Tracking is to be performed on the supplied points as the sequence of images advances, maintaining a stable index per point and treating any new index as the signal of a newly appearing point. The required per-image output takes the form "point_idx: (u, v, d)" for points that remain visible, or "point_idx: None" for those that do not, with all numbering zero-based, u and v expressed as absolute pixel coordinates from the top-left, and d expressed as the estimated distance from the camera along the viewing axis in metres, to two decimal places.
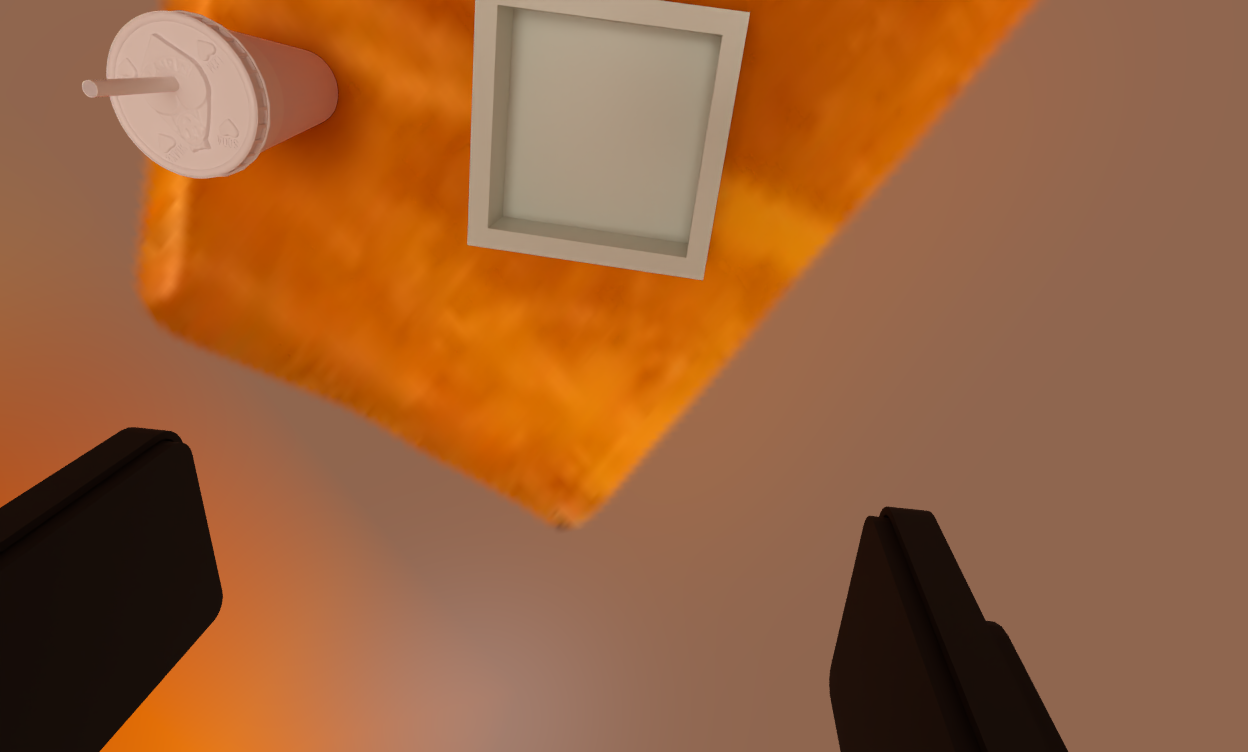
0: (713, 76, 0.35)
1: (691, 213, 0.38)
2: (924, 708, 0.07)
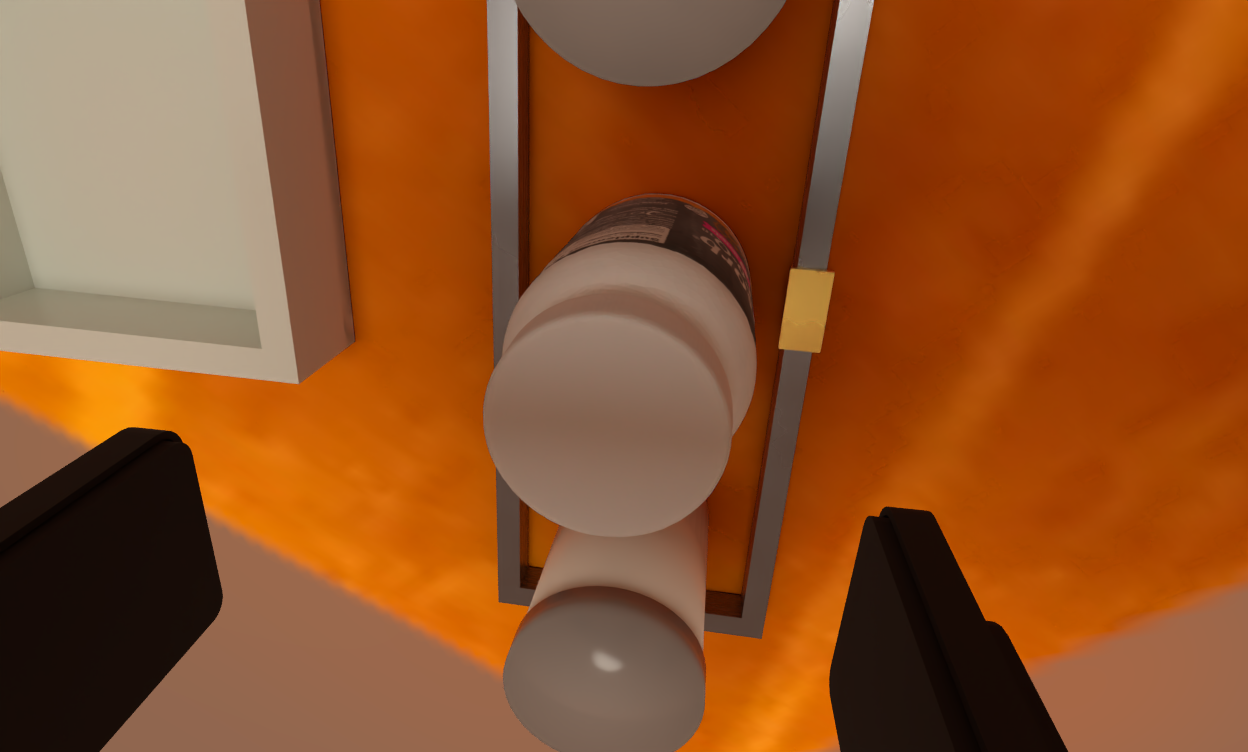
0: None
1: (77, 290, 0.24)
2: (924, 708, 0.07)
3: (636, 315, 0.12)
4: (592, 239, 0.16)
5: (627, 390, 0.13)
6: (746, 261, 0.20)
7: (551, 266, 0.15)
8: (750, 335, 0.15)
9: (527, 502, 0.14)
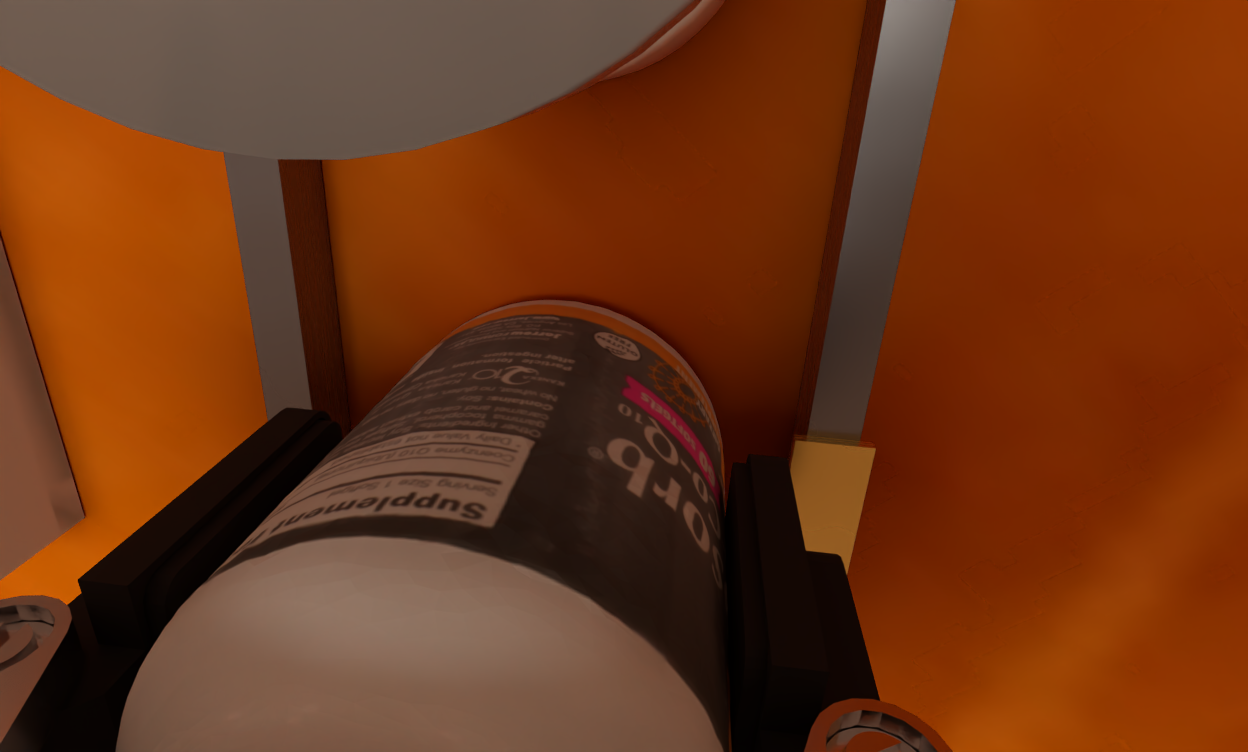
0: None
1: None
2: (738, 613, 0.08)
3: None
4: (340, 486, 0.07)
5: None
6: (714, 422, 0.11)
7: (210, 584, 0.06)
8: None
9: None
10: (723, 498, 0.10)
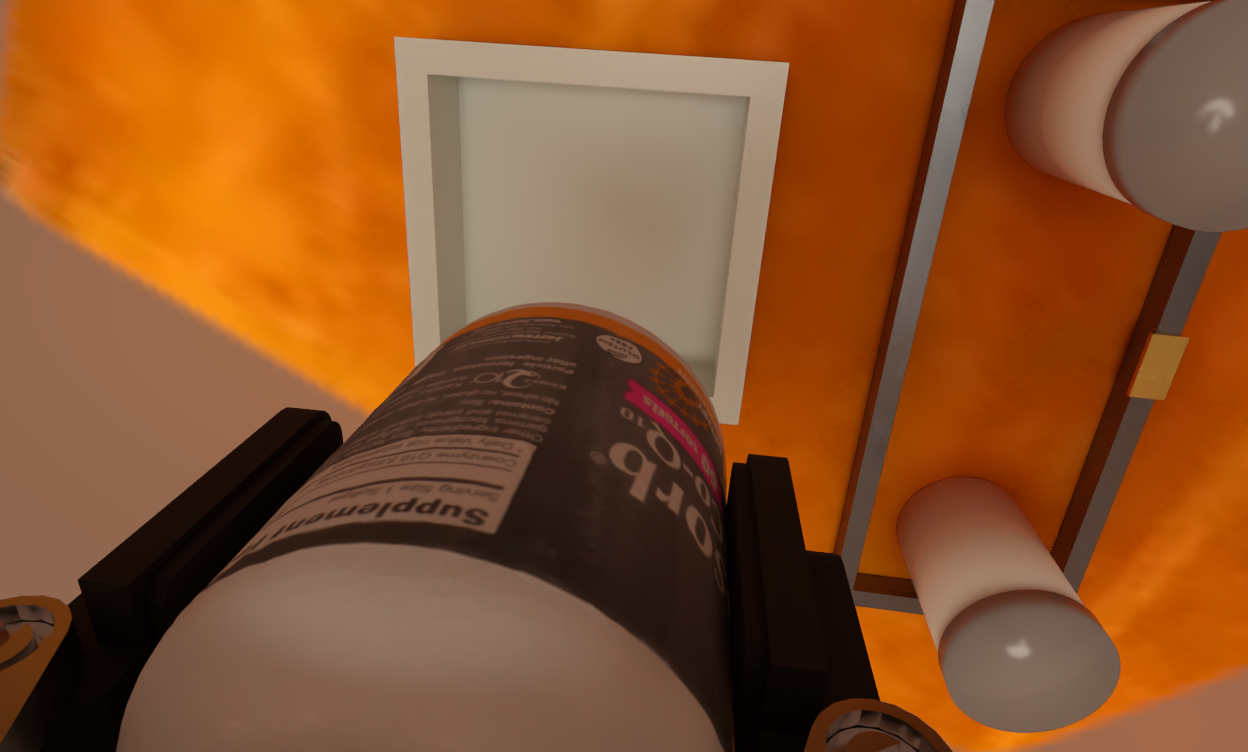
0: None
1: None
2: (739, 612, 0.08)
3: None
4: (341, 491, 0.07)
5: None
6: (716, 425, 0.11)
7: (210, 591, 0.06)
8: None
9: None
10: (725, 501, 0.10)
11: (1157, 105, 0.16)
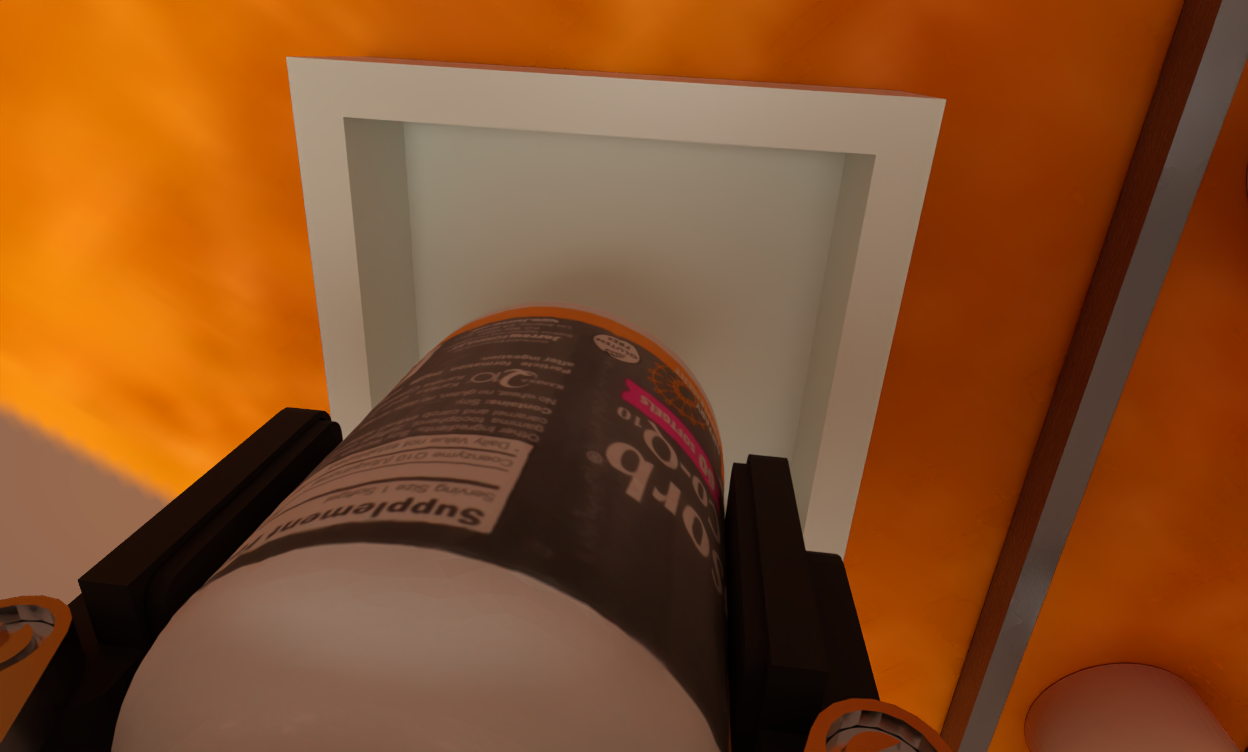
0: None
1: None
2: (739, 613, 0.08)
3: None
4: (337, 491, 0.07)
5: None
6: (714, 425, 0.11)
7: (205, 591, 0.06)
8: None
9: None
10: (723, 501, 0.10)
11: None
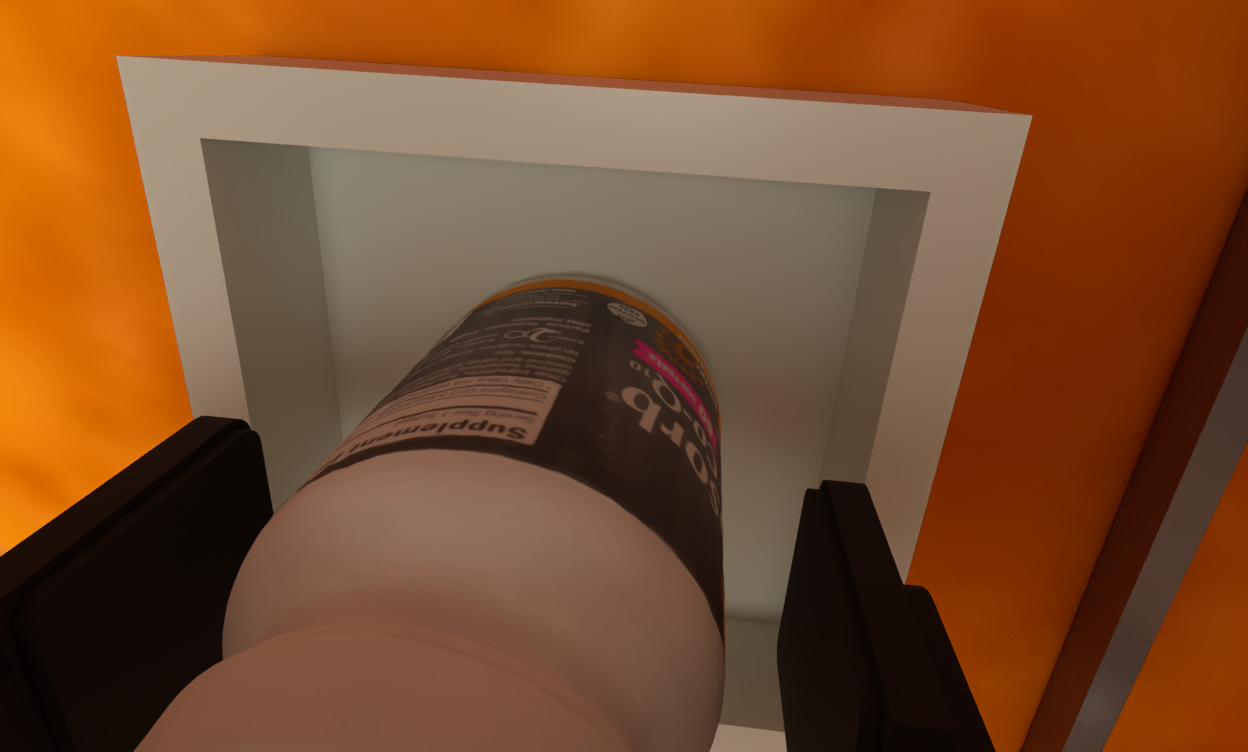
0: None
1: None
2: (838, 658, 0.07)
3: None
4: (403, 418, 0.08)
5: None
6: (712, 385, 0.13)
7: (303, 491, 0.07)
8: (711, 631, 0.07)
9: None
10: (719, 449, 0.12)
11: None
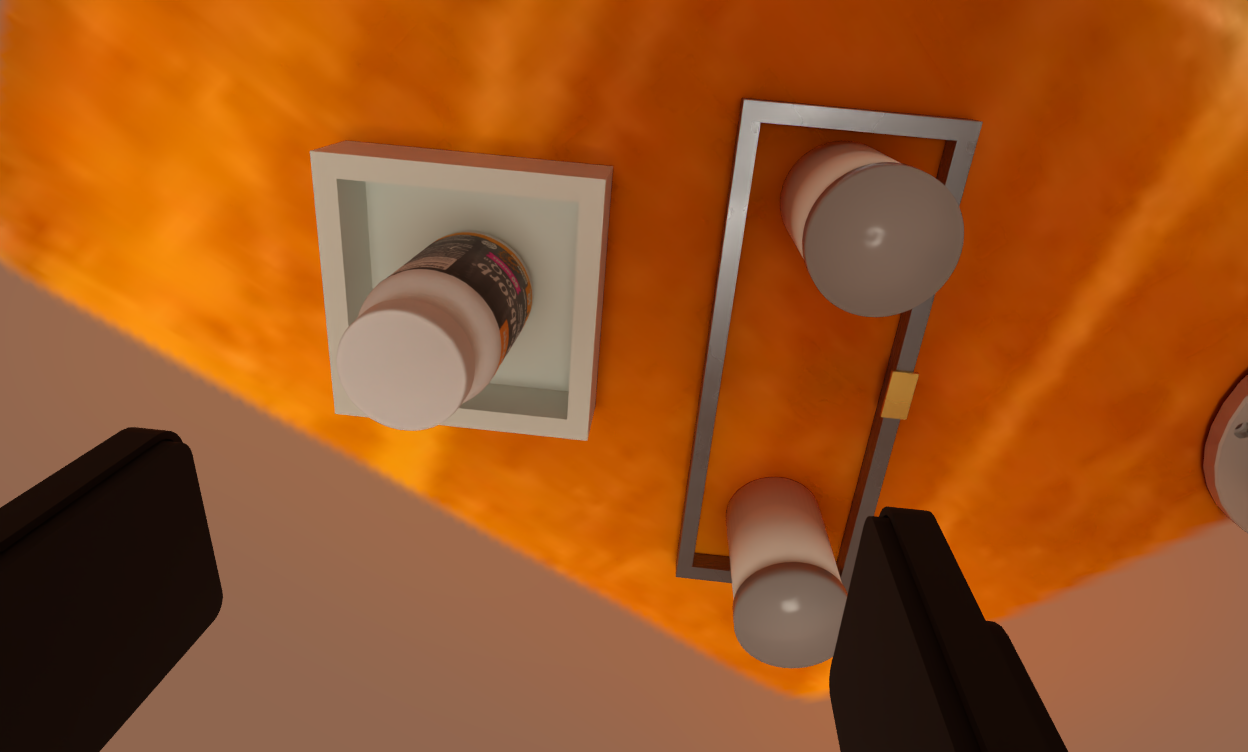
0: (540, 387, 0.36)
1: None
2: (924, 708, 0.07)
3: (412, 310, 0.24)
4: (408, 265, 0.28)
5: (410, 349, 0.25)
6: (526, 275, 0.33)
7: (382, 281, 0.27)
8: (494, 322, 0.27)
9: (363, 411, 0.26)
10: (524, 296, 0.32)
11: (825, 236, 0.25)
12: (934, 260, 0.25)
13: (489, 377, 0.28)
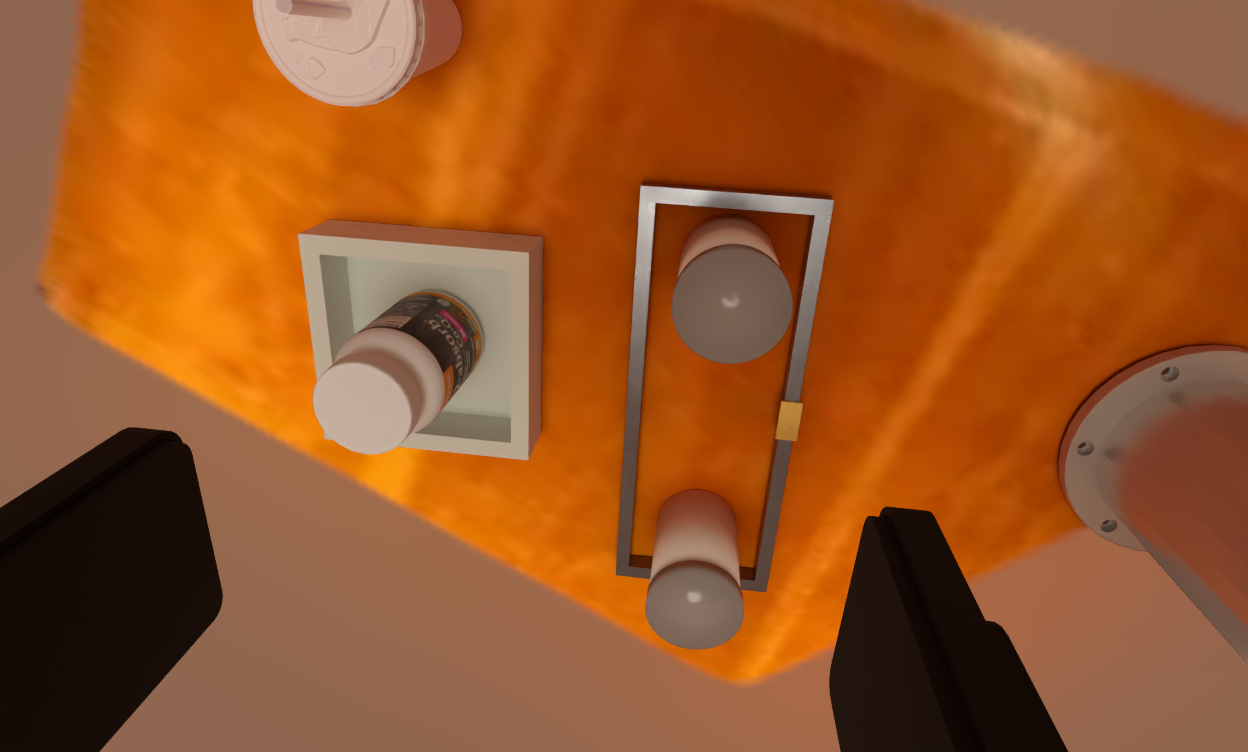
0: (493, 415, 0.43)
1: None
2: (924, 708, 0.07)
3: (368, 362, 0.32)
4: (373, 324, 0.35)
5: (368, 392, 0.32)
6: (475, 325, 0.40)
7: (350, 337, 0.35)
8: (438, 368, 0.34)
9: (334, 439, 0.33)
10: (471, 343, 0.39)
11: (685, 302, 0.32)
12: (772, 319, 0.31)
13: (436, 411, 0.35)
